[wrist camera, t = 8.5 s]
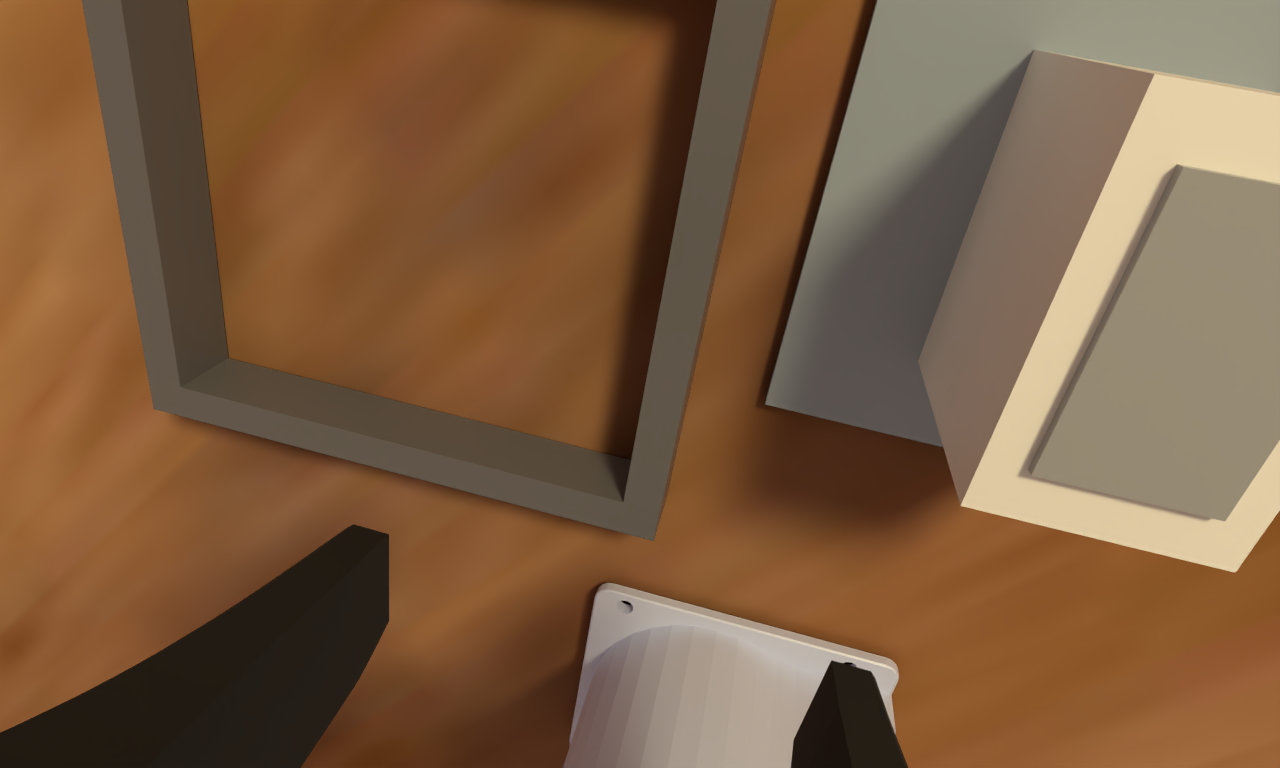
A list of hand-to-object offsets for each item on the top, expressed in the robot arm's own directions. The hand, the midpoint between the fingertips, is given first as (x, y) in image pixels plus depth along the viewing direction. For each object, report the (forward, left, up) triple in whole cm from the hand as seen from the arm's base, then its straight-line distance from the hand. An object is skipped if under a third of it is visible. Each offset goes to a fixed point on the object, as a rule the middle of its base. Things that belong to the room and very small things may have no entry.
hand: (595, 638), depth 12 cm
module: (-8, -6, -9) cm, 13 cm away
